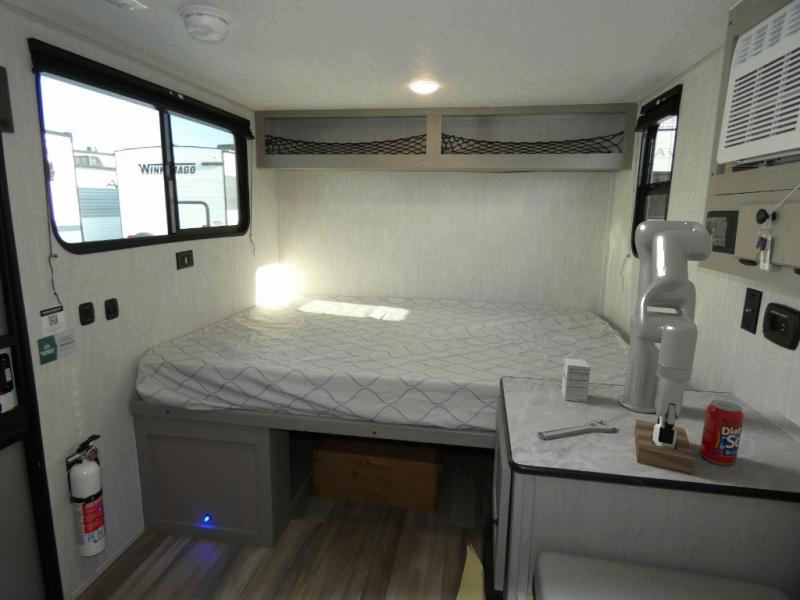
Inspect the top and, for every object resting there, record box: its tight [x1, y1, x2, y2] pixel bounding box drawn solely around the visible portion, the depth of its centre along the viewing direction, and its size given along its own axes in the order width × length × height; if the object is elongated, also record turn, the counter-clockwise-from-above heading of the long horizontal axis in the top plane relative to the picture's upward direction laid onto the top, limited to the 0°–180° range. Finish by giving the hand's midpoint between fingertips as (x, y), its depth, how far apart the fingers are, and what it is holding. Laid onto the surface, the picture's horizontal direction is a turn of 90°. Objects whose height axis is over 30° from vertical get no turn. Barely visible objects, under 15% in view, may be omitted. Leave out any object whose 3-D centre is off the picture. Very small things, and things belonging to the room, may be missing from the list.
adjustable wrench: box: [536, 418, 615, 440], centre depth 132 cm, size 25×6×2 cm, turn 104°
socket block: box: [634, 419, 695, 475], centre depth 121 cm, size 18×12×4 cm, turn 155°
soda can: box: [699, 399, 745, 466], centre depth 117 cm, size 8×8×15 cm
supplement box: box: [561, 357, 591, 403], centre depth 155 cm, size 7×7×13 cm
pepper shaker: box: [652, 414, 677, 449], centre depth 118 cm, size 4×4×10 cm
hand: (664, 437), depth 119 cm, fingers closed on pepper shaker, 5 cm apart
